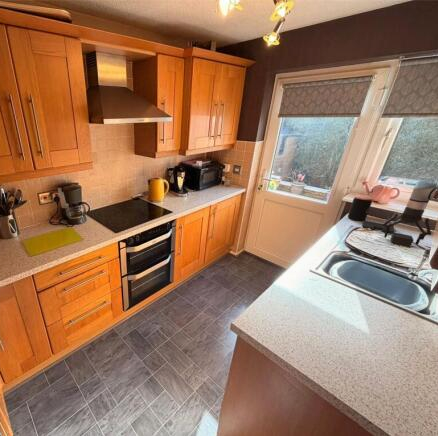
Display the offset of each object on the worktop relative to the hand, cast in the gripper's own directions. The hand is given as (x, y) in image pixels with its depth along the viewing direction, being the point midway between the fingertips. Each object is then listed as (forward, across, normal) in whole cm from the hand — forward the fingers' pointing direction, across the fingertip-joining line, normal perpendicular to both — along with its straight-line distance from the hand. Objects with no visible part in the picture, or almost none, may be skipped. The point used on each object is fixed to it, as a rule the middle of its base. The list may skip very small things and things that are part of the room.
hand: (400, 240), depth 141 cm
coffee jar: (+3, +22, -35) cm, 41 cm away
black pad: (+2, 0, -1) cm, 2 cm away
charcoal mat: (+2, +10, -22) cm, 24 cm away
